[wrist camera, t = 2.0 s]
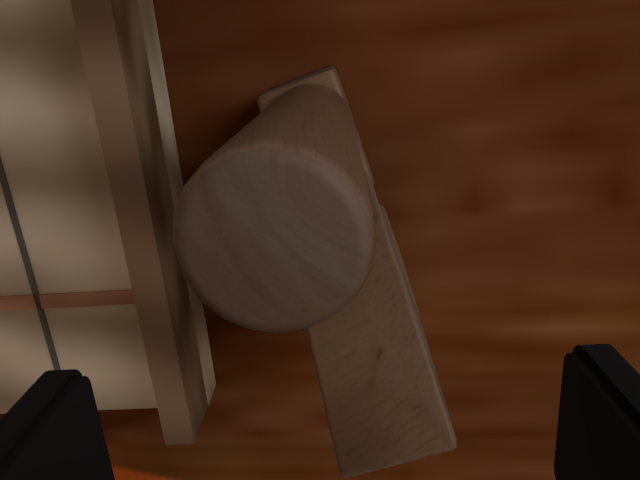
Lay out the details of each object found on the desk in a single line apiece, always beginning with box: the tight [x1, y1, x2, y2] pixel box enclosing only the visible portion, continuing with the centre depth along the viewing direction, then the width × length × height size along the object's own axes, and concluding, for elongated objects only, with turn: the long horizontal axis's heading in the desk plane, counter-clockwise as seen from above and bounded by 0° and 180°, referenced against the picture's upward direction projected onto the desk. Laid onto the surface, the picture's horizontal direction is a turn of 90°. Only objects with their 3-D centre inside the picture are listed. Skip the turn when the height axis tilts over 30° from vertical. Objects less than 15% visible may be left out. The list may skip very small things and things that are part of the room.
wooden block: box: [173, 66, 457, 478], centre depth 18 cm, size 4×11×18 cm, turn 21°
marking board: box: [0, 0, 216, 445], centre depth 25 cm, size 28×14×5 cm, turn 4°
